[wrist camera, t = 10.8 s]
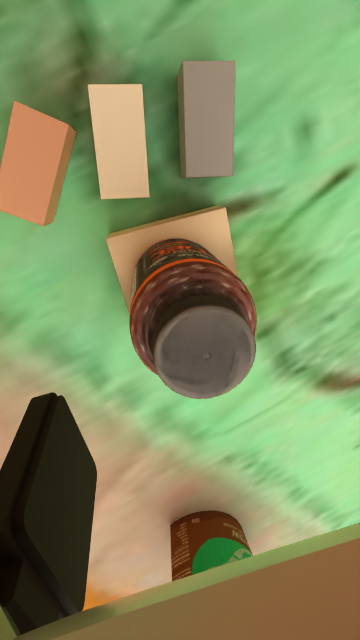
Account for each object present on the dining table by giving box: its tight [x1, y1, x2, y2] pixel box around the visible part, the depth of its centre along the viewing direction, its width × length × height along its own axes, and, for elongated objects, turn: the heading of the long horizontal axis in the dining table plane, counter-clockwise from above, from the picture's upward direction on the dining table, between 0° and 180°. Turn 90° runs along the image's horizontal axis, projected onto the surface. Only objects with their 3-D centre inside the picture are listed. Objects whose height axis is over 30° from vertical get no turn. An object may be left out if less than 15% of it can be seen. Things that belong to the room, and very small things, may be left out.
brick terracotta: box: [0, 101, 77, 226], centre depth 21 cm, size 6×3×3 cm, turn 158°
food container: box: [170, 511, 253, 581], centre depth 32 cm, size 12×6×10 cm, turn 45°
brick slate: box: [177, 61, 235, 179], centre depth 21 cm, size 6×3×3 cm, turn 2°
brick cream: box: [88, 84, 149, 199], centre depth 21 cm, size 6×3×3 cm, turn 2°
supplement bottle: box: [130, 238, 257, 399], centre depth 18 cm, size 6×6×11 cm
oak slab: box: [106, 206, 238, 313], centre depth 25 cm, size 8×8×3 cm
